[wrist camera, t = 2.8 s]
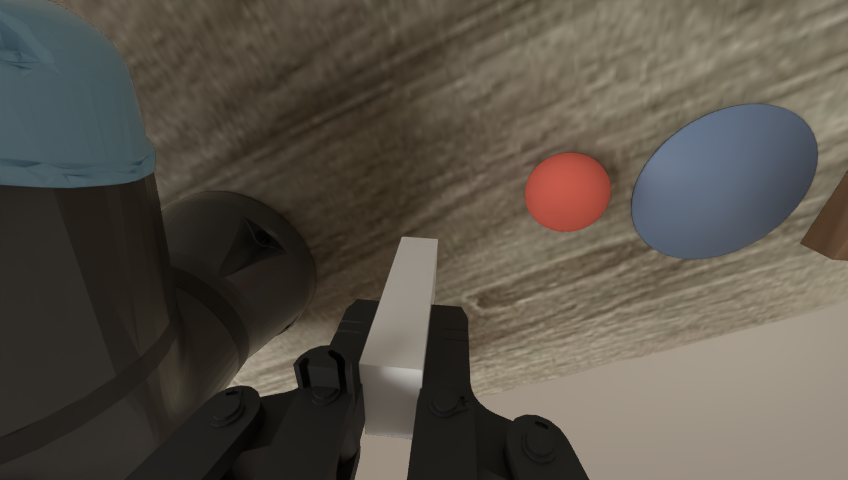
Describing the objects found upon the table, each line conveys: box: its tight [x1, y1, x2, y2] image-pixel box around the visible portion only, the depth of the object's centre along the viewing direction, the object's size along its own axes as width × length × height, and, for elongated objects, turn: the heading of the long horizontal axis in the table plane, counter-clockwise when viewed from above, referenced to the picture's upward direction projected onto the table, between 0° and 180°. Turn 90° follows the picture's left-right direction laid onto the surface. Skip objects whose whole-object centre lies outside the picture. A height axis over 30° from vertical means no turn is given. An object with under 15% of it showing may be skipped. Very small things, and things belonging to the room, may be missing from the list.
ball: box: [525, 152, 611, 232], centre depth 23 cm, size 6×6×6 cm
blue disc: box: [631, 104, 818, 259], centre depth 24 cm, size 12×12×1 cm
